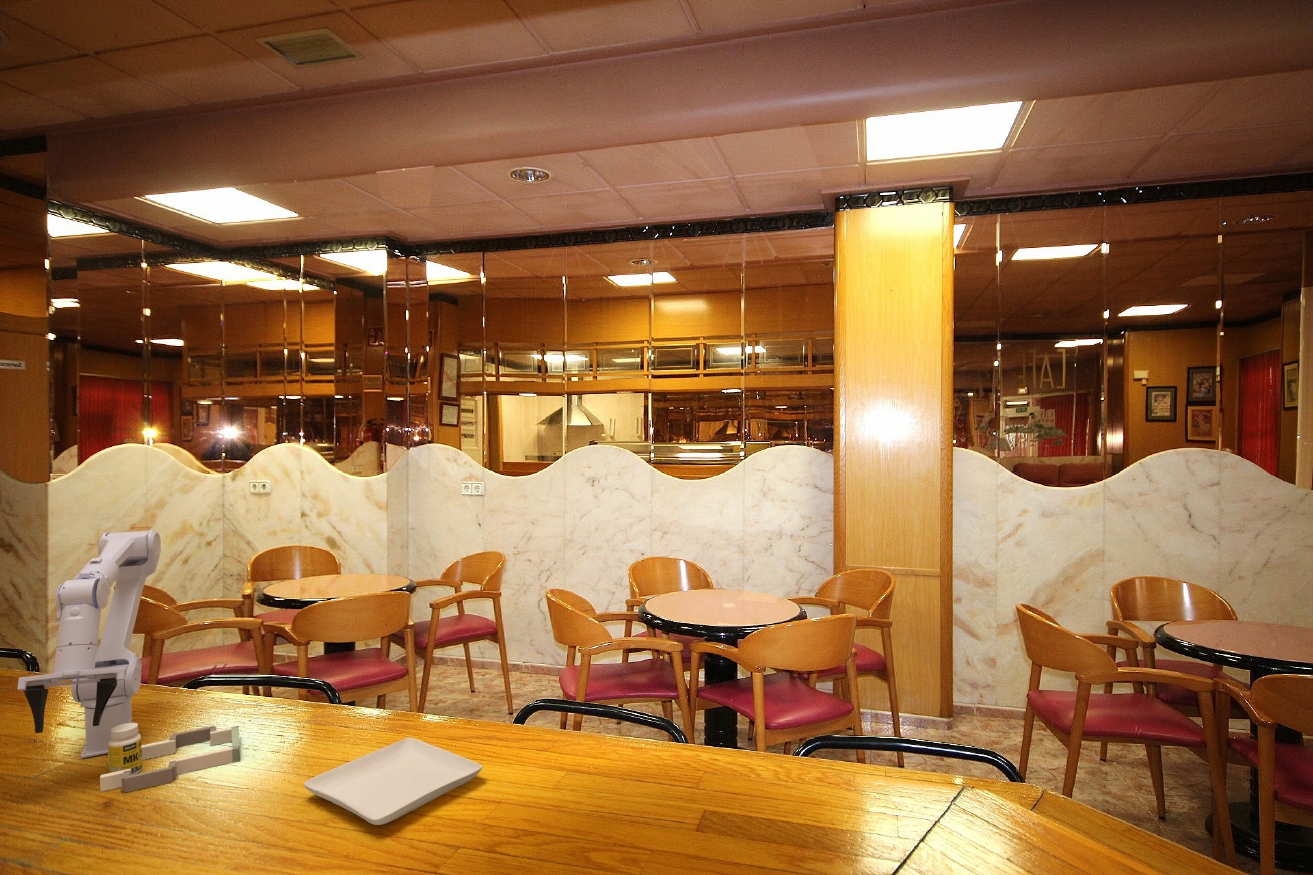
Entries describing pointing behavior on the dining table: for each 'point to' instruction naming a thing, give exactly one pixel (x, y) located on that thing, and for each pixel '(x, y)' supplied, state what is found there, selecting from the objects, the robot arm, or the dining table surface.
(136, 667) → the robot arm
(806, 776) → the dining table surface
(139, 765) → the supplement bottle
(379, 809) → the salad plate
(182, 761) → the beige piece
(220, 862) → the dining table surface
